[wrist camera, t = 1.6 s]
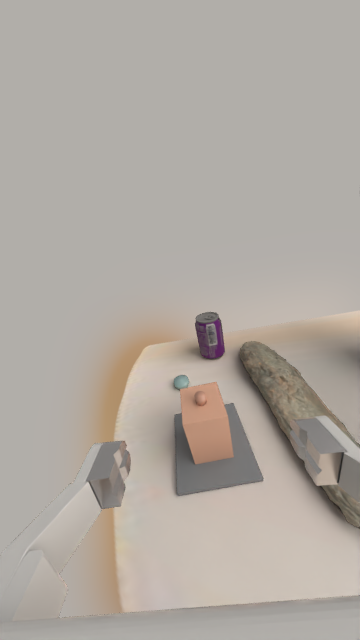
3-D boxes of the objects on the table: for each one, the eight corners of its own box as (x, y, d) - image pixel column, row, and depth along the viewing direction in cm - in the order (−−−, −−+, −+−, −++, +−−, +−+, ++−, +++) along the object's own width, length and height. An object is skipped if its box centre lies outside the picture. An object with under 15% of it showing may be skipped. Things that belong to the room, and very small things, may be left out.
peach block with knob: (222, 420, 32) (215, 376, 27) (233, 457, 26) (227, 409, 22) (190, 426, 32) (178, 383, 27) (195, 464, 26) (180, 419, 22)
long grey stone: (337, 555, 18) (431, 542, 18) (352, 541, 16) (462, 526, 16) (230, 351, 49) (265, 345, 49) (230, 336, 47) (266, 330, 47)
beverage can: (229, 349, 51) (225, 312, 46) (217, 363, 46) (211, 324, 41) (208, 344, 55) (202, 310, 50) (196, 356, 51) (188, 321, 46)
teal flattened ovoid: (188, 378, 44) (187, 373, 43) (190, 389, 40) (189, 384, 40) (174, 381, 44) (173, 376, 43) (175, 392, 40) (173, 387, 40)
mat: (233, 405, 34) (233, 403, 34) (263, 480, 23) (263, 478, 23) (175, 416, 35) (174, 414, 35) (178, 496, 24) (177, 494, 24)
